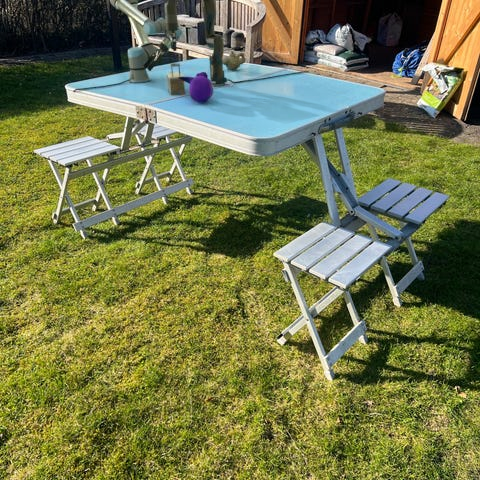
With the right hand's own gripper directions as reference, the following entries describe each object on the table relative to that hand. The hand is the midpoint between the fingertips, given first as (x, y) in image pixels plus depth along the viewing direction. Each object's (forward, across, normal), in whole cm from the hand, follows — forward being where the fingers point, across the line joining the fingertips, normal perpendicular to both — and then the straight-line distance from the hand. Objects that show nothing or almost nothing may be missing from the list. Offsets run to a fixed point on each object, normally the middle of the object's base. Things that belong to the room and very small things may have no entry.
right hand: (173, 50), depth 286 cm
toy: (+27, -23, -10) cm, 37 cm away
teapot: (+27, +73, -56) cm, 96 cm away
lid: (+17, +6, 0) cm, 18 cm away
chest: (+27, +6, 0) cm, 28 cm away
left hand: (+17, +40, +16) cm, 47 cm away
